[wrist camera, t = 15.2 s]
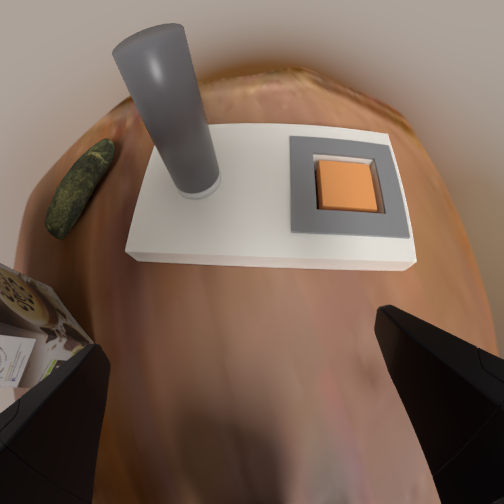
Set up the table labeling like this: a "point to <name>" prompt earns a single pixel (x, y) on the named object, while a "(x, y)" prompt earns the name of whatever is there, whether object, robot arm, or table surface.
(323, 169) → the button
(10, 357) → the coffee box
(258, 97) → the table surface
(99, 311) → the table surface
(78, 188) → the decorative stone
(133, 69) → the grey cylinder
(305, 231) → the panel
